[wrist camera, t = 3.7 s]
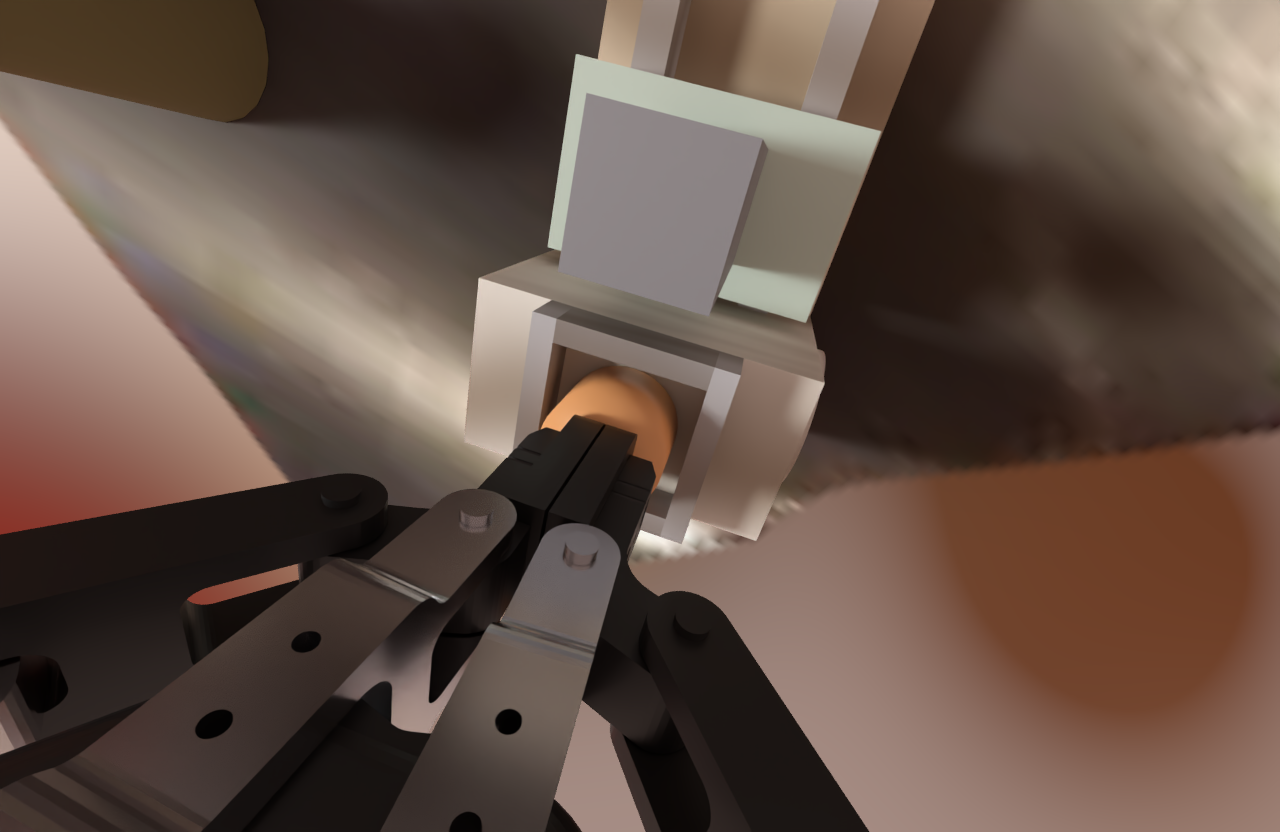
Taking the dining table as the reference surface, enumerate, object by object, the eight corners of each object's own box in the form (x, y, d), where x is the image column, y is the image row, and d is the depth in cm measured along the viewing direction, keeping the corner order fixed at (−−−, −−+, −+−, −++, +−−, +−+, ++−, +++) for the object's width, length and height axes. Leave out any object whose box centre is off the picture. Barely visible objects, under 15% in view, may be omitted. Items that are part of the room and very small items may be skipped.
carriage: (593, 63, 15) (452, -16, 9) (871, 134, 14) (951, 106, 8) (564, 240, 18) (436, 286, 11) (803, 310, 17) (820, 404, 10)
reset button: (578, 351, 14) (548, 378, 12) (691, 386, 13) (678, 420, 12) (559, 449, 15) (530, 486, 13) (661, 483, 15) (645, 526, 13)
